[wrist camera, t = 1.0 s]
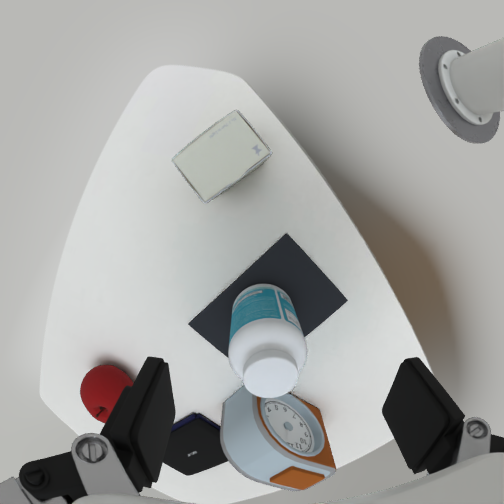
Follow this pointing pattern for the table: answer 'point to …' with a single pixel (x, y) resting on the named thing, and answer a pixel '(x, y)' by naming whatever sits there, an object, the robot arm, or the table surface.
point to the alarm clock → (276, 440)
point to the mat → (283, 276)
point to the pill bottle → (266, 341)
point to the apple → (103, 390)
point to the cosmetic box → (221, 156)
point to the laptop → (194, 445)
